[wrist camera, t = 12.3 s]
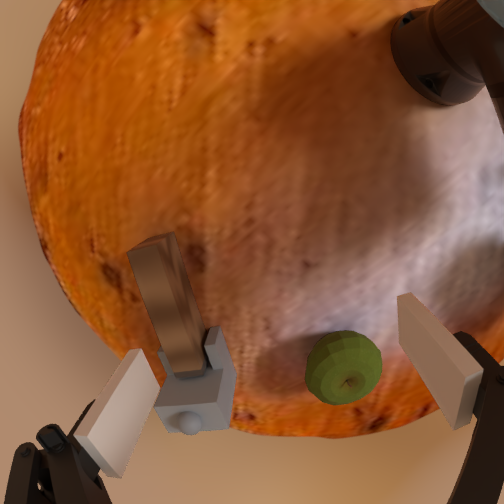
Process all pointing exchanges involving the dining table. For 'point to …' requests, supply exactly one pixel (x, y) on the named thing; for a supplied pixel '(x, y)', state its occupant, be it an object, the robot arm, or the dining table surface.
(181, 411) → the grey two-prong block
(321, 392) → the apple
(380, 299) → the dining table surface
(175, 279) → the rail
